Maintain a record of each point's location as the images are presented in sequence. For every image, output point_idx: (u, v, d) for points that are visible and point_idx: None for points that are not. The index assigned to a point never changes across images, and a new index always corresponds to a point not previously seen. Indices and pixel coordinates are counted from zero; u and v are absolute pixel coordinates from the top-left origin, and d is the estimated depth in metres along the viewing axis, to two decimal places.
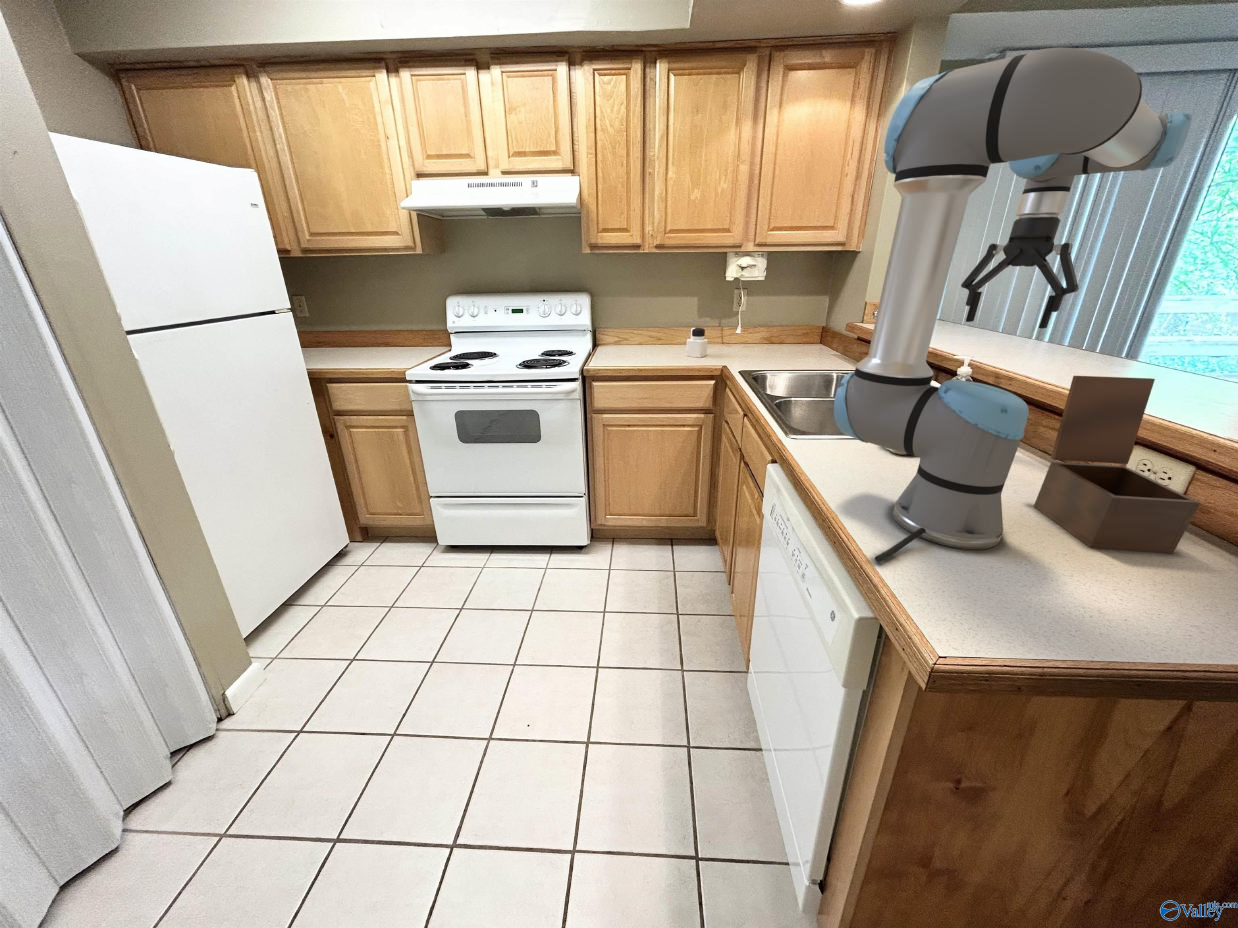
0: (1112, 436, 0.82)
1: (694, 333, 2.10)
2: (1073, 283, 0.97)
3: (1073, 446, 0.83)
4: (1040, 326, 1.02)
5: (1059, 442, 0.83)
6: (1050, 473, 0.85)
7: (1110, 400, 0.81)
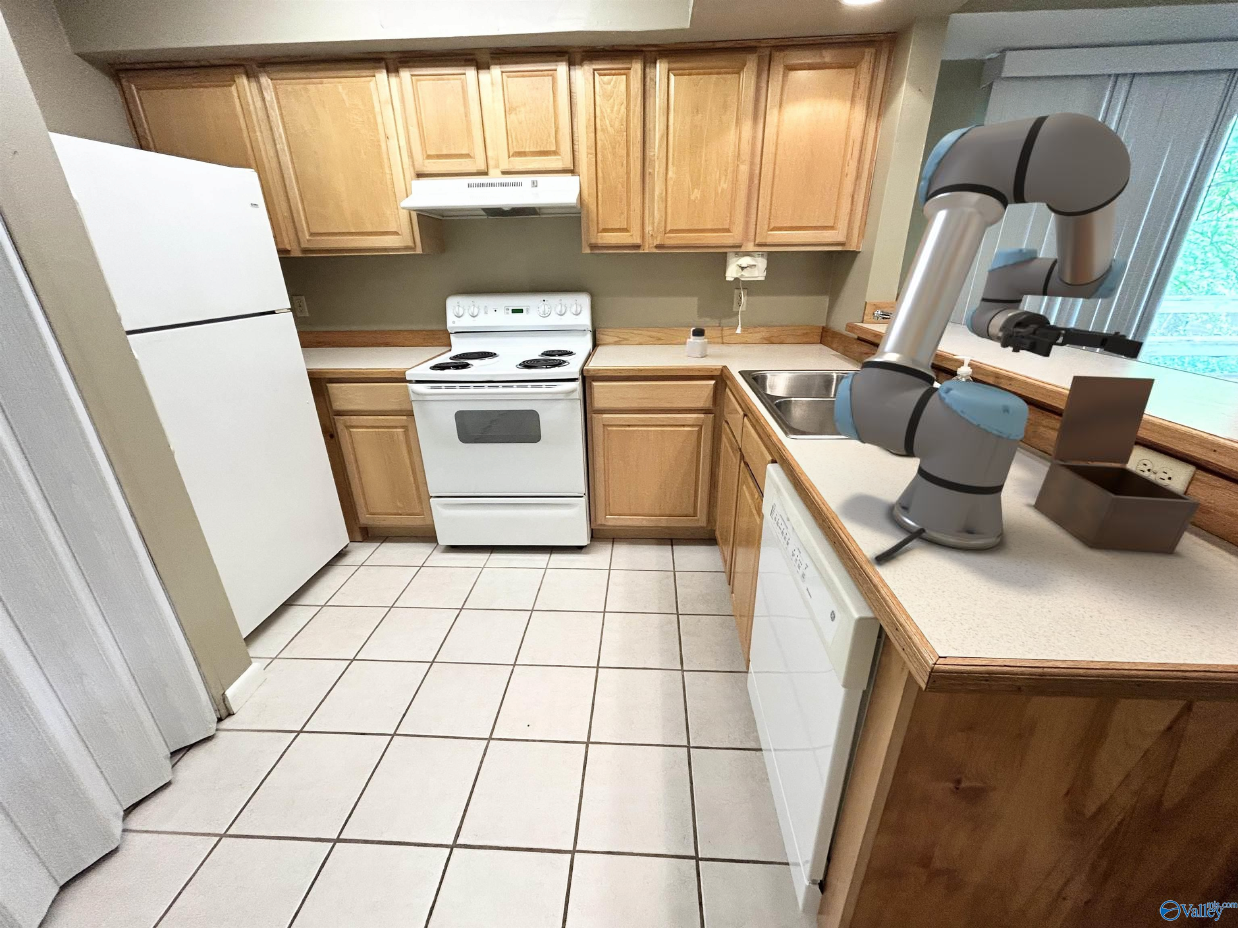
0: (1112, 436, 0.82)
1: (694, 333, 2.10)
2: None
3: (1073, 446, 0.83)
4: (1138, 342, 0.83)
5: (1059, 442, 0.83)
6: (1050, 473, 0.85)
7: (1110, 400, 0.81)
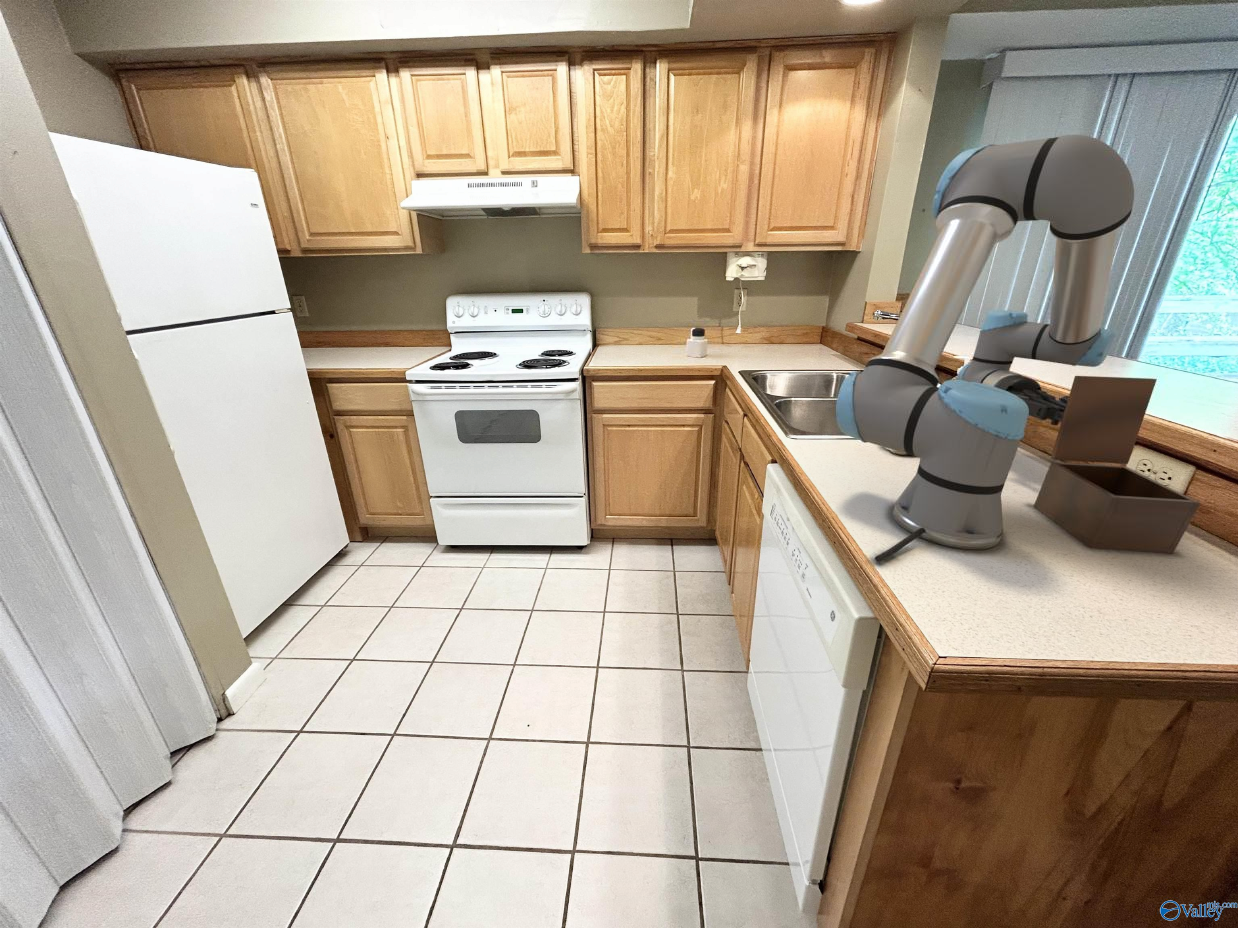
0: (1113, 436, 0.82)
1: (694, 333, 2.10)
2: None
3: (1073, 446, 0.83)
4: None
5: (1059, 442, 0.83)
6: (1050, 473, 0.85)
7: (1111, 400, 0.80)
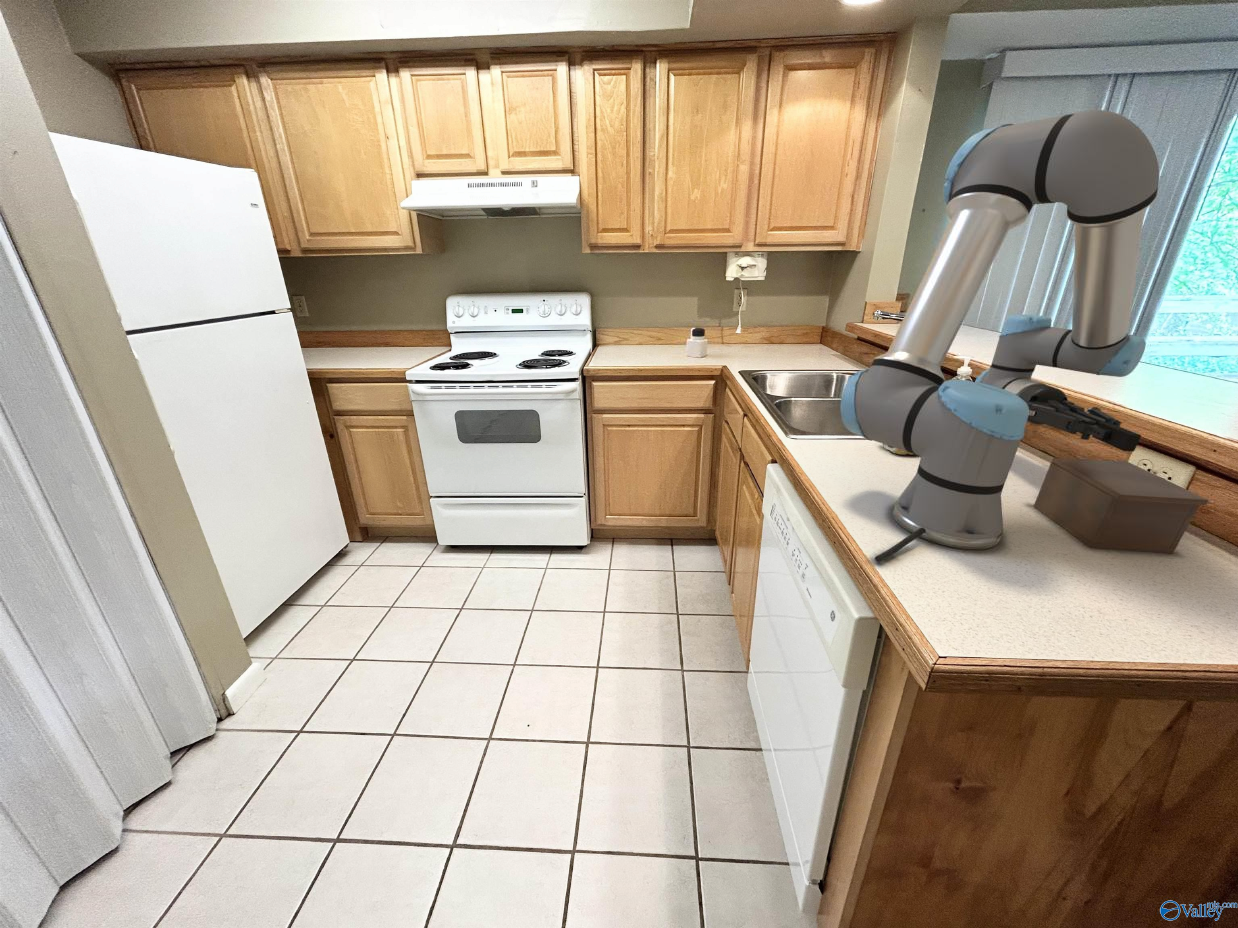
0: None
1: (694, 333, 2.10)
2: (1116, 420, 0.83)
3: None
4: (1135, 434, 0.76)
5: (1064, 468, 0.82)
6: (1050, 473, 0.85)
7: None
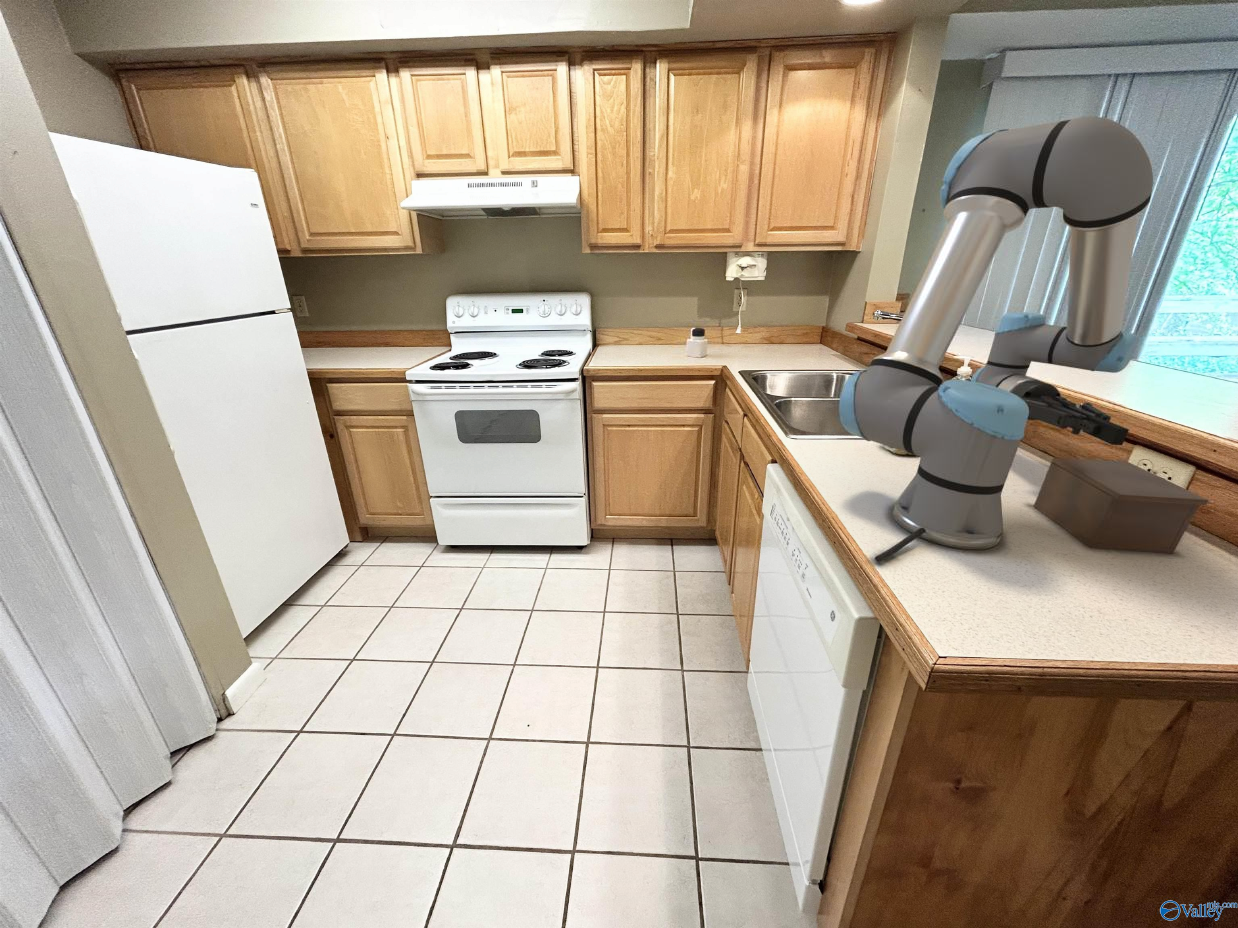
0: None
1: (694, 333, 2.10)
2: (1107, 415, 0.85)
3: None
4: (1123, 428, 0.78)
5: (1064, 468, 0.82)
6: (1050, 473, 0.85)
7: None
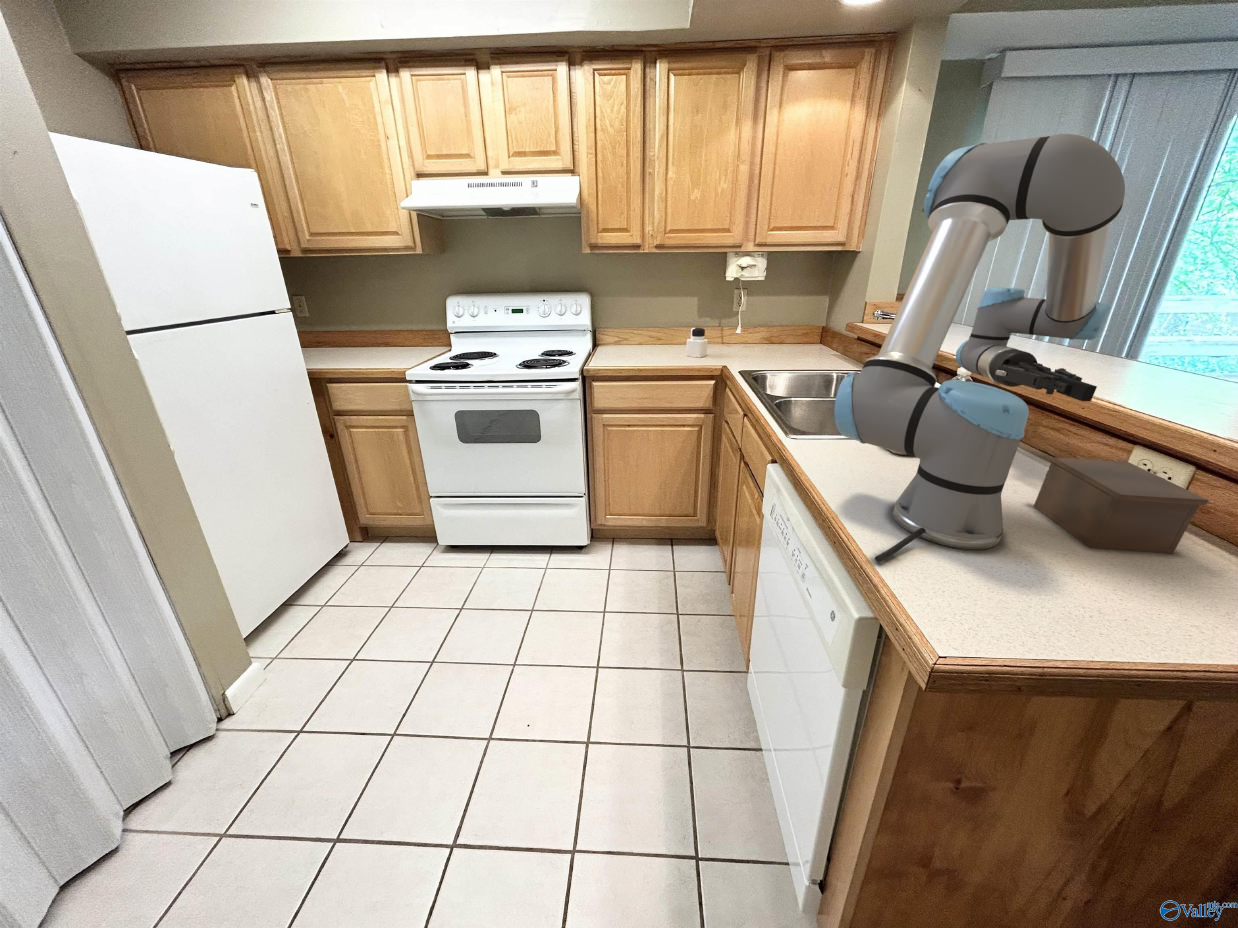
0: None
1: (694, 333, 2.10)
2: (1078, 377, 0.92)
3: None
4: (1092, 385, 0.84)
5: (1064, 468, 0.82)
6: (1050, 473, 0.85)
7: None
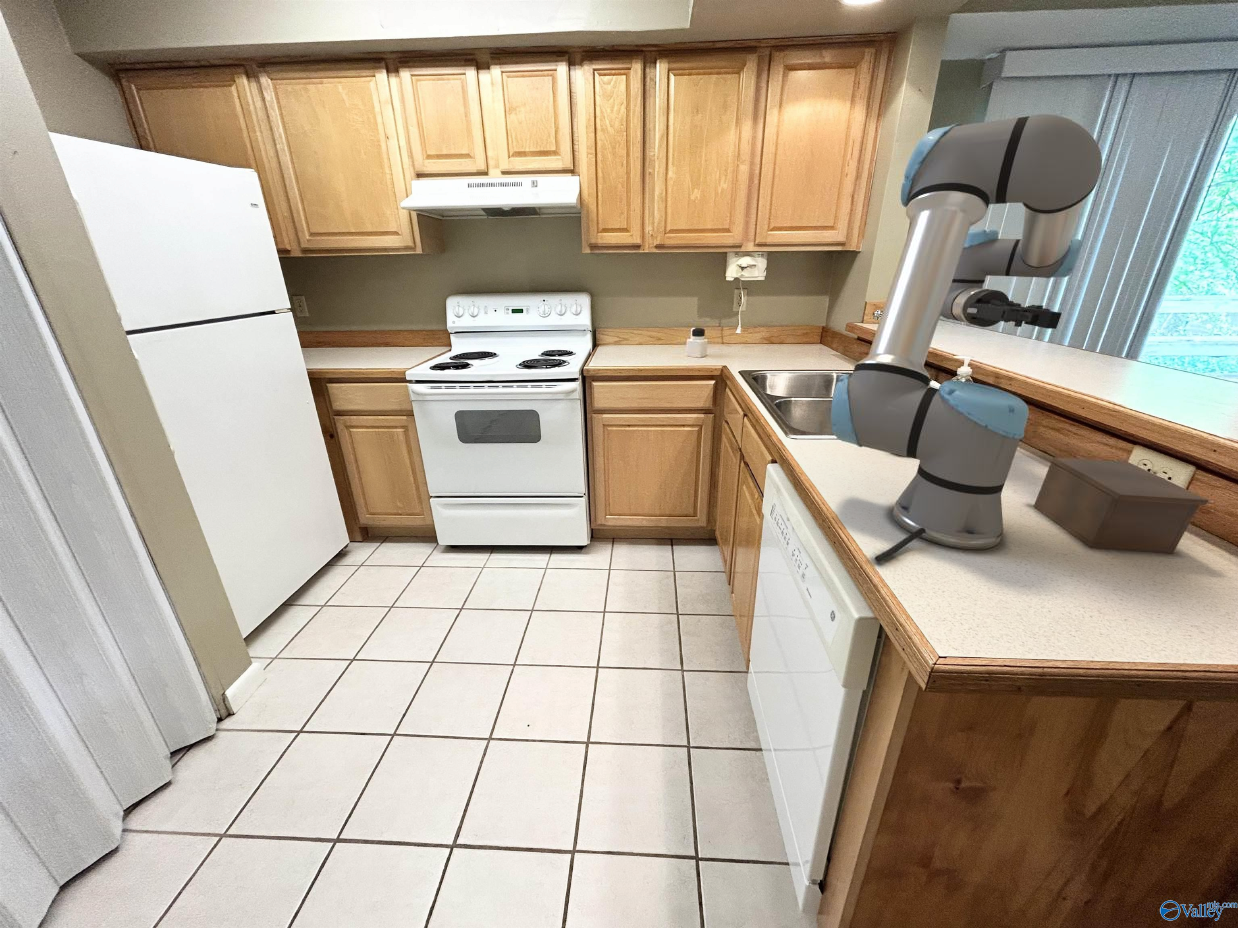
0: None
1: (694, 333, 2.10)
2: None
3: None
4: (1057, 312, 0.84)
5: (1064, 468, 0.82)
6: (1050, 473, 0.85)
7: None
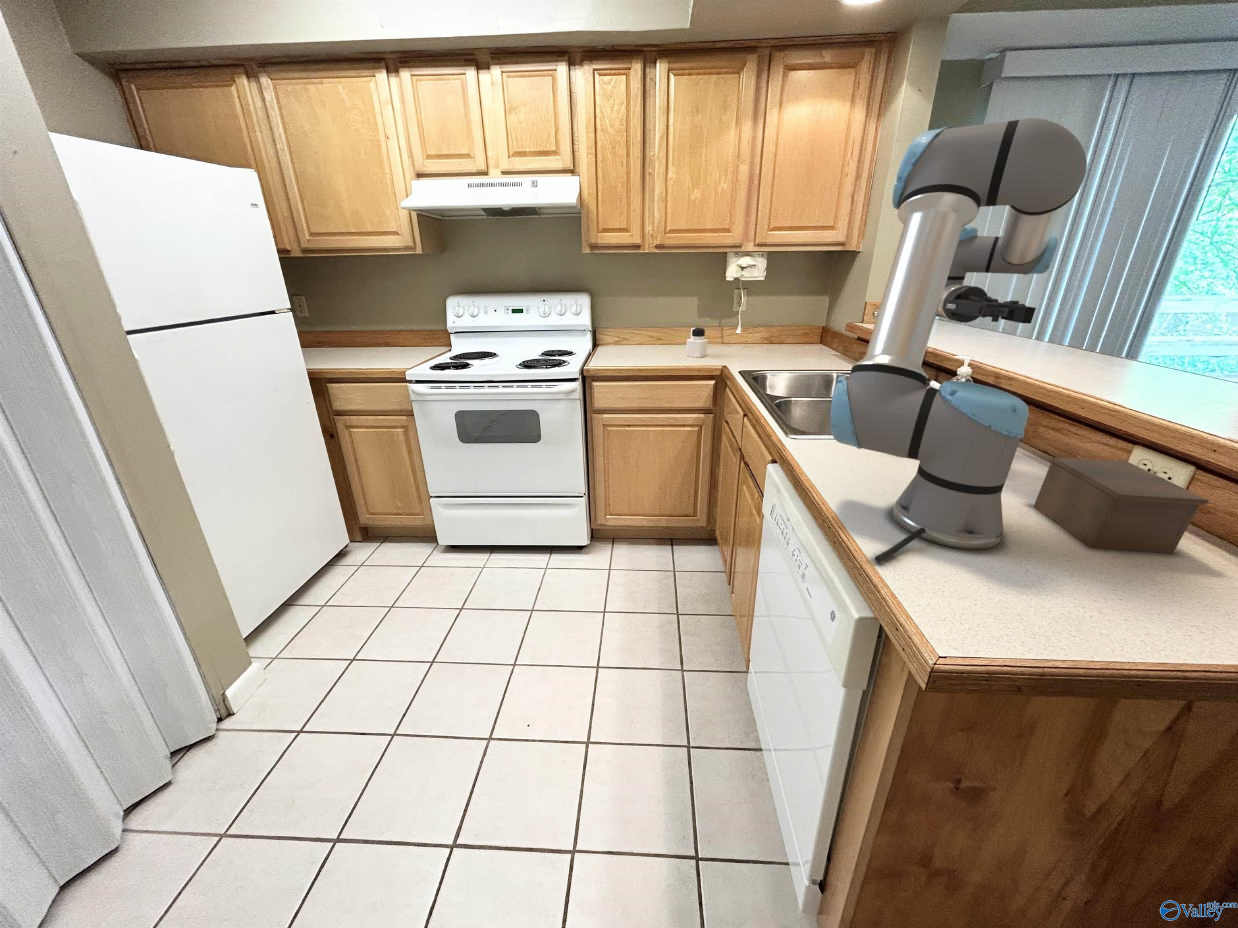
0: None
1: (694, 333, 2.10)
2: None
3: None
4: (1031, 307, 0.86)
5: (1064, 468, 0.82)
6: (1050, 473, 0.85)
7: None
